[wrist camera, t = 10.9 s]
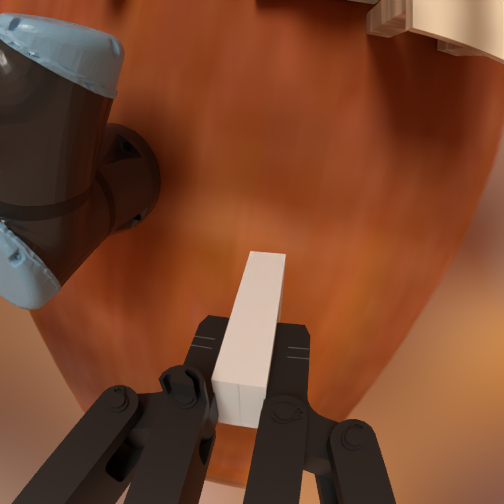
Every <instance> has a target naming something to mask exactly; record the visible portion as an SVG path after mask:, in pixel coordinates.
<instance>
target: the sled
mask: <svg viewBox="0 0 504 504" xmlns="http://www.w3.org/2000/svg"><path fill="white" fill-rule="evenodd" d="M349 1H356V2H362V3H368V4H375V3H376V2H377V1H378V0H349Z"/></svg>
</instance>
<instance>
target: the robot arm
mask: <svg viewBox="0 0 504 504" xmlns="http://www.w3.org/2000/svg"><path fill="white" fill-rule="evenodd" d="M123 61H124V48H123V45H122V43H121V42H120V41H119V40H118V39H117V38H116V37H114V36H113V35H110V34H108V33H105V32H102V31H99V30H96V29H93V28H89V27H86V26H82V25H78V24H74V23H70V22H66V21H62V20H57V19H52V18H47V17H41V16H34V15H26V14H18V13H2V14H1V15H0V295H1V296H2V297H3V298H4V299H6V300H7V301H9V302H10V303H12V304H14V305H16V306H18V307H20V308H22V309H27V310H29V309H32V310H33V309H39V308H41V307H42V306H43V305H44V304H46V303H47V302H48V301H49V300H50V299H51V298H52V297H53V296H54V295H55V294H57V293H58V292H59V291H60V290H61V287H62V286H63V285H64V283H65V282H66V281H67V280H68V279H69V278H70V277H71V275H72V274H73V273H74V272H75V271H76V270H77V269H78V268H79V267H80V265H81V264H82V263H83V262H84V261H85V260H86V259H87V258H88V257H89V256H90V255H91V253H92V252H93V251H94V250H95V249H96V248H97V247H98V246H99V245H100V244H101V243H102V242H103V241H104V240H105V239H106V238H107V237H108V236H111V235H114V234H117V233H119V232H122V231H125V230H128V229H130V228H132V227H134V226H136V225H137V224H139V223H140V222H141V221H142V220H143V219H144V218H145V217H146V216H147V215H148V214H149V213H150V212H151V210H152V209H153V207H154V206H155V204H156V202H157V199H158V196H159V191H160V173H159V168H158V164H157V161H156V159H155V156H154V154H153V152H152V151H151V149H150V147H149V146H148V144H147V143H146V142H145V141H144V140H143V139H142V138H141V137H140V136H139V135H138V134H137V133H136V132H134V131H133V130H131V129H129V128H127V127H125V126H123V125H119V124H114V123H107V121H108V117H109V113H110V110H111V106H112V103H113V100H114V98H116V96H117V90H116V88H117V84H118V80H119V76H120V72H121V68H122V64H123ZM285 257H286V254H277V253H265V252H254V251H250V254H249V258H248V261H247V264H246V267H245V271H244V274H243V277H242V281H241V284H240V287H239V290H238V294H237V297H236V300H235V303H234V307H233V310H232V313H231V317H230V318H226V317H218V316H211V315H208V316H207V317H206V318H205V319H204V320H203V321H202V322H201V323H200V324H199V326H198V329H197V331H196V334H195V337H194V339H193V341H192V344H191V346H190V349H189V351H188V354H187V356H186V359H185V362H184V364H183V365H178V366H174V367H170V368H169V369H167V370H166V371H164V372H163V373H162V375H161V376H160V378H159V381H160V384H161V386H162V389H163V391H162V392H157V393H145V394H136V392H135V391H134V390H132V389H131V388H130V387H127V386H124V385H116V386H113V387H110V388H108V389H107V390H106V391H104V392H103V393H102V394H101V395H100V397H99V398H98V399H97V400H96V401H95V403H94V404H93V405H92V406H91V407H90V409H89V410H88V411H87V412H86V413H85V414H84V416H83V417H82V418H81V419H80V420H79V422H78V423H77V424H76V425H75V427H74V428H73V429H72V430H71V431H70V432H69V434H68V435H67V436H66V437H65V439H64V440H63V441H62V442H61V443H60V445H59V446H58V447H57V448H56V449H55V451H54V452H53V453H52V454H51V455H50V457H49V458H48V459H47V460H46V462H45V463H44V464H43V465H42V466H41V468H40V469H39V470H38V471H37V473H36V474H35V475H34V476H33V478H32V479H31V480H30V481H29V483H28V484H27V485H26V486H25V488H24V489H23V490H22V491H21V493H20V494H19V495H18V496H17V498H16V499H15V500H14V501H13V503H12V504H115V503H116V502H117V501H118V499H119V498H120V496H121V495H122V494H123V492H124V491H125V489H126V488H127V487H128V485H129V484H130V482H131V484H130V487H129V490H128V492H127V495H126V498H125V501H124V503H123V504H198V503H199V499H200V496H201V492H202V488H203V484H204V481H205V477H206V473H207V469H208V465H209V461H210V458H211V454H212V450H213V446H214V442H215V438H216V431H215V427H216V423H217V420H218V419H219V423H225V424H231V425H237V426H244V427H251V428H258V429H257V435H256V440H255V445H254V450H253V456H252V461H251V466H250V471H249V476H248V481H247V486H246V491H245V496H244V501H243V504H299V499H300V490H301V482H302V473H303V470H305V471H308V472H311V473H313V474H315V478H316V483H317V489H318V494H319V499H320V504H396V502H395V498H394V495H393V492H392V488H391V484H390V481H389V477H388V474H387V470H386V467H385V464H384V460H383V458H382V454H381V451H380V448H379V445H378V442H377V438H376V435H375V433H374V431H373V429H372V427H371V426H369V425H368V424H367V423H365V422H364V421H360V420H357V419H348V420H345V421H342V422H340V423H339V422H336V421H333V420H330V419H327V418H325V417H322V416H320V415H319V414H317V413H316V412H315V411H314V410H313V409H312V408H311V406H310V404H309V402H308V397H307V390H308V374H309V354H310V335H309V333H308V331H307V328H306V326H305V325H299V324H288V323H279V321H280V314H281V306H282V296H283V284H284V271H285Z"/></svg>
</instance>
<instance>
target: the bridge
mask: <svg viewBox="0 0 504 504" xmlns="http://www.w3.org/2000/svg"><path fill="white" fill-rule="evenodd" d="M406 31H410V32H414V33H418V34H422V35H425V36H429V37H432V38H436V39H437V50H438V51H441V52H445V53H448V54H451V55H454V56H486V57H489V58H491V59H494V60H496V61H498V62H501V63H503V64H504V0H381V1H380V2H379V3H378V4H377V5H376V6H375V7H373V8H372V9H371V10H370V11H369V12H368V13H367V14H366V34H370V35H375V36H381V37H386V38H390V37H392V36H395V35H398V34H400V33H403V32H406Z"/></svg>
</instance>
